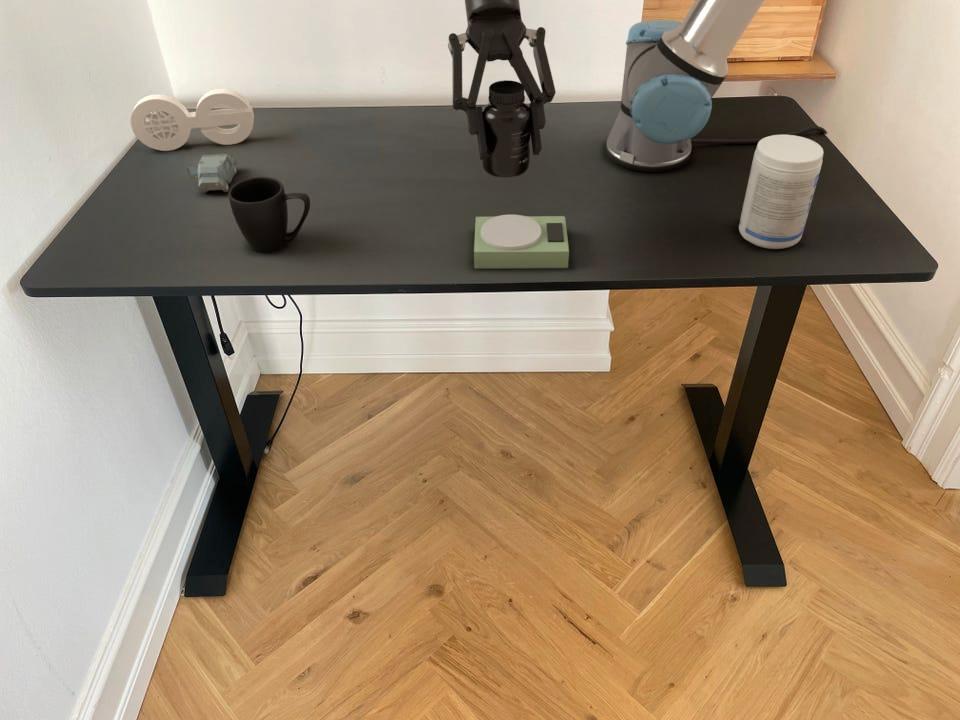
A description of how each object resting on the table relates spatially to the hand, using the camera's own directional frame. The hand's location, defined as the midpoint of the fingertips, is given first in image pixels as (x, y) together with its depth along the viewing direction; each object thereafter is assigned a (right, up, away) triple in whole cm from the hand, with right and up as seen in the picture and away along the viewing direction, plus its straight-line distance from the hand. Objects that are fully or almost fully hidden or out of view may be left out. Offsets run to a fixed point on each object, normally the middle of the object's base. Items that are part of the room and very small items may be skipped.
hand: (510, 153), depth 108 cm
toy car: (-51, +3, +31) cm, 60 cm away
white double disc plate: (-58, +13, +43) cm, 73 cm away
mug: (-36, -10, +16) cm, 41 cm away
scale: (+2, -11, +13) cm, 18 cm away
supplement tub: (+41, -9, +15) cm, 45 cm away
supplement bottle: (0, -1, +5) cm, 5 cm away
